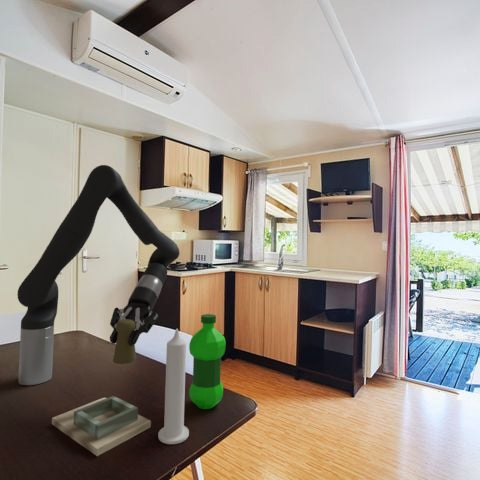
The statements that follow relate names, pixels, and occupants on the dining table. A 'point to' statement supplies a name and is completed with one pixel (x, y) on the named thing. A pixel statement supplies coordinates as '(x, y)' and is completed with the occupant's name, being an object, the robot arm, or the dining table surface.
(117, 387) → the dining table surface
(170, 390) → the candle
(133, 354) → the cork
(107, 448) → the board
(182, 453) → the dining table surface
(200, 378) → the plastic bottle
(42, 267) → the robot arm
